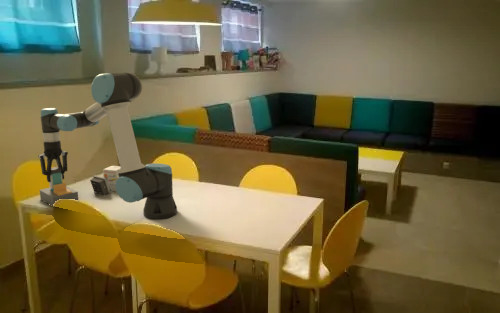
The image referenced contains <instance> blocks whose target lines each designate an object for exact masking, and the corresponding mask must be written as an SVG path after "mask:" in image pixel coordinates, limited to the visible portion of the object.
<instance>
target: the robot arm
mask: <svg viewBox="0 0 500 313" xmlns="http://www.w3.org/2000/svg"><path fill="white" fill-rule="evenodd" d="M90 86H91V87H90V92H91V93H90V94H91V97H92V99H93V101H95V103H93V104H91V105H90V106H89V107H87V108H86V109H84V110H83V111H79V112H72V113H59V112H58V111H59V110H58V108H55V107H49V108H46V107H45V108H42V109H41V110H40V122H41V123H40V124H41V131H42V132H41V133H42V140H43V149H44V150H43V153H42V154H38V155H37V156H38V159H39V160H40V161H39V162H40V167H41V168H40V169H41V174H42V176H43V175H44V176H46V181H47V183H48V184H49V188H52V189H53V178H52V175H51V168H52V164H53V161H54V160H55V161H56V162H55V163H56V165H57V167H58V168H61V179H62V183H64V181H63V180H65V173H66V172H68V154H69V153H68V151H65V150H63V149H62V144H61V133H60V132H61V131H63V132H73V131H74V130H76V129H81V128H89V127H94V126H97V125H99V123H100V120H101V119H103V118H104V117H106V116H107V120H108V122H109V127H110V130H111V135H112V139H113V142H114V147H115V150H116V155H117V158H118V163H119V166H120V167H121V168H120V170H119V172H118V175H119V178H118V179H117V180H116V183H115V188H116V191H115V192H116V193H117V195H118V197H119V198H120V199H121V200H123V201H124V202H126V203H135V202H140V201H141V200H144V199H145V203H144V207H143V212H142V213H143V216H144V217H145V218H147V219H150V220H151V219H152V220H164V219H169V218H172V217H174V216H176V215H177V213H178V207H177V204H176V201H175V199H174V193H173V192H174V191H173V171H172V167H171V165H169V164H167V163H166V164H164V163H157V162H156V163H154V162H153V163H147V164H143V163H142V161H141V158H140V157H141V156H140V152H139V149H138V145H137V141H136V137H135V132H134V128H133V125H132V121H131V120H132V119H131V116H130V112H129V109H128V108H129V106H130V104H131V102H134V101H135V100H136V99H137V98H139V97H140V95H141V94H142V91H143V85H142V81H141V80H140V78H139V77H138V76H137V75H136V74H134V73H132V72H107V73H100V74H98V75H96V76H95V77H94V78H93V81H92V82H91V85H90ZM61 155H62V161H61ZM45 158H46V160H45Z"/></svg>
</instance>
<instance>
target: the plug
mask: <svg viewBox="0 0 500 313" xmlns="http://www.w3.org/2000/svg"><path fill="white" fill-rule="evenodd" d="M51 175H52V178H53V189H52V188H51V191H52V192H53V191H54V185H57V184H62V179H61V168H58V166H55V167H51Z"/></svg>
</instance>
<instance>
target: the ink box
mask: <svg viewBox="0 0 500 313" xmlns="http://www.w3.org/2000/svg"><path fill="white" fill-rule="evenodd" d="M120 168H121V167H120V165H111V166H108V167H106V168H103V169H102V173H103V177H104V178H106V180H107V183H108V186H109V189H110V192H111V191H112V192H117V191H116V188H115V183H116V180H117V179H118V178H119V175H118V172H119V170H120Z"/></svg>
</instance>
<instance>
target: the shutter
mask: <svg viewBox="0 0 500 313" xmlns="http://www.w3.org/2000/svg"><path fill="white" fill-rule="evenodd" d="M66 186H67V183H66V182H63V183H62V184H57V185H54V191H53V193H55V194H56V195H58V196H61V195H65V194H69V193H72V191H70V190H68V189H66Z"/></svg>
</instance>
